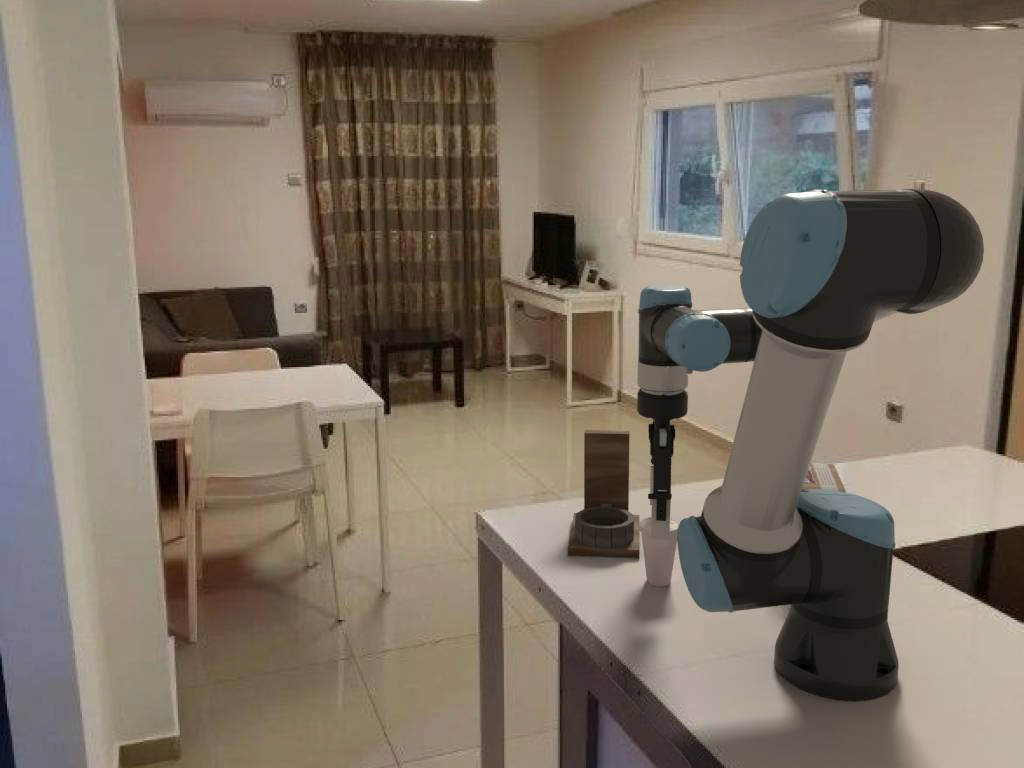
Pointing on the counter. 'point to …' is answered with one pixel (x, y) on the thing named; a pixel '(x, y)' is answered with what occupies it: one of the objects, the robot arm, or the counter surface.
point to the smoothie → (659, 553)
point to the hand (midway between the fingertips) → (659, 521)
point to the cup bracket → (605, 500)
